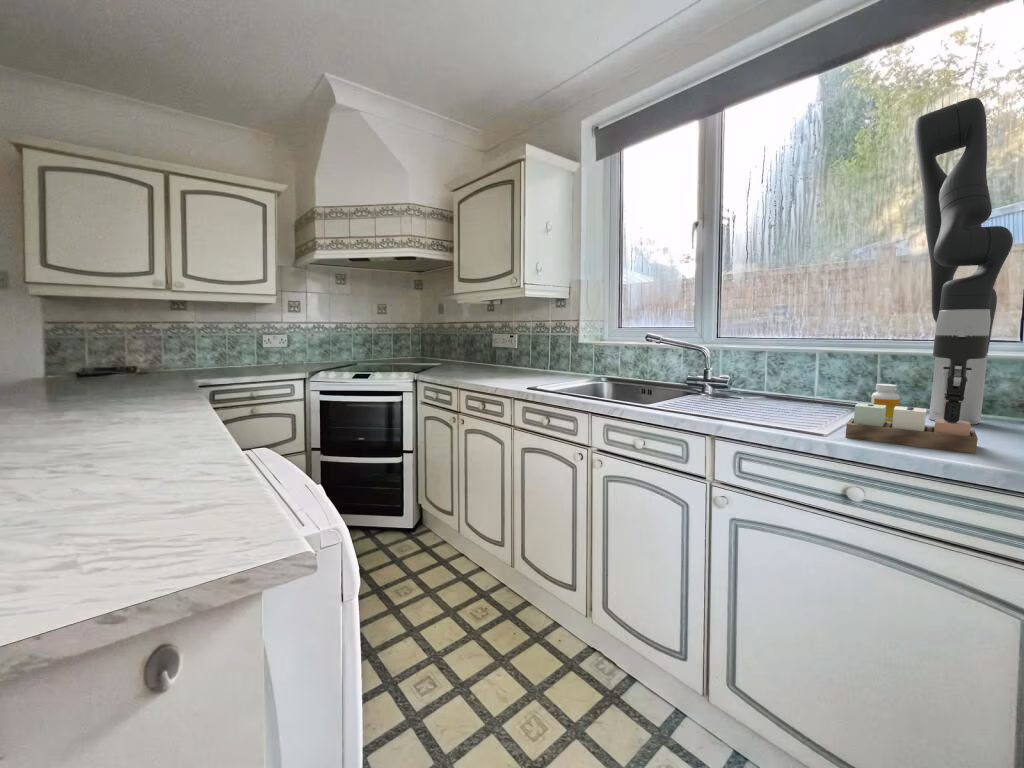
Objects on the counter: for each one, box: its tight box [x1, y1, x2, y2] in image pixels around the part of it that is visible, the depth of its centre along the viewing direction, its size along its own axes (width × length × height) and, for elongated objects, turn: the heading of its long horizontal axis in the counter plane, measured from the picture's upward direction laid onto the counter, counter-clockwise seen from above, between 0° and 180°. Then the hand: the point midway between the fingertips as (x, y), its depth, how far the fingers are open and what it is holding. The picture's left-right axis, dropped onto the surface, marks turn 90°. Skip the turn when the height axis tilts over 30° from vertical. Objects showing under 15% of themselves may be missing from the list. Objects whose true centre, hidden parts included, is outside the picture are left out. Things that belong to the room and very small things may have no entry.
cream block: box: [892, 406, 927, 431], centre depth 95 cm, size 5×5×4 cm
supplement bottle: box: [870, 383, 900, 422], centre depth 113 cm, size 5×5×10 cm
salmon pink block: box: [933, 418, 972, 436], centre depth 91 cm, size 5×5×4 cm
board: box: [845, 417, 979, 455], centre depth 96 cm, size 20×9×3 cm, turn 48°
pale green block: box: [853, 402, 886, 427], centre depth 100 cm, size 5×5×4 cm
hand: (951, 420), depth 91 cm, fingers closed
